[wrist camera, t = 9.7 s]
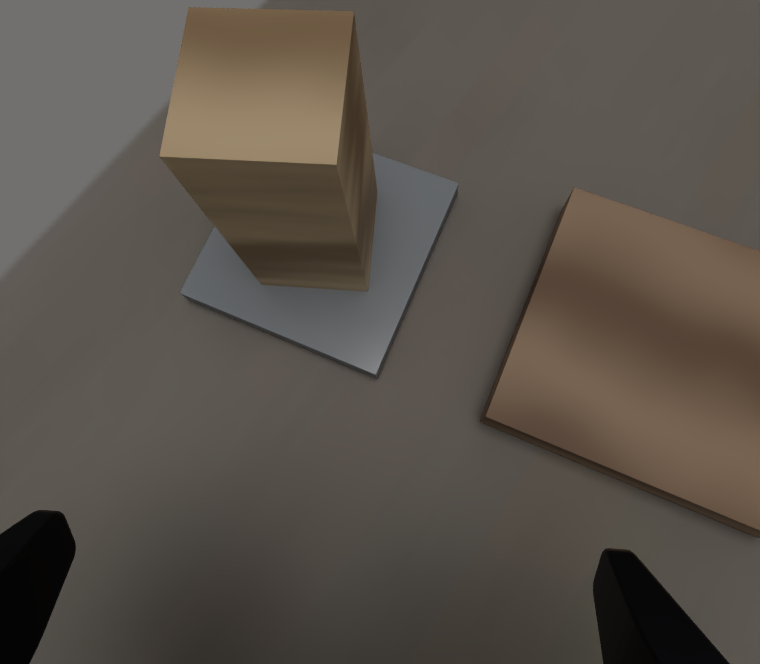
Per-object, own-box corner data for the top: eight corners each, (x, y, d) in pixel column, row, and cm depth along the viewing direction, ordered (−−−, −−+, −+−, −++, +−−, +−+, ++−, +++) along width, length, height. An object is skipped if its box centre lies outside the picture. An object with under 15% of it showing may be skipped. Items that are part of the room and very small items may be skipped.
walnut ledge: (756, 537, 22) (789, 542, 20) (479, 421, 23) (485, 416, 21) (821, 300, 24) (857, 284, 22) (562, 209, 25) (574, 187, 23)
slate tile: (377, 378, 24) (375, 374, 23) (188, 299, 25) (179, 292, 24) (457, 194, 26) (458, 183, 25) (277, 130, 27) (272, 117, 26)
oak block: (368, 291, 24) (336, 164, 14) (261, 284, 24) (159, 156, 15) (377, 192, 25) (353, 11, 15) (275, 187, 25) (188, 7, 16)
